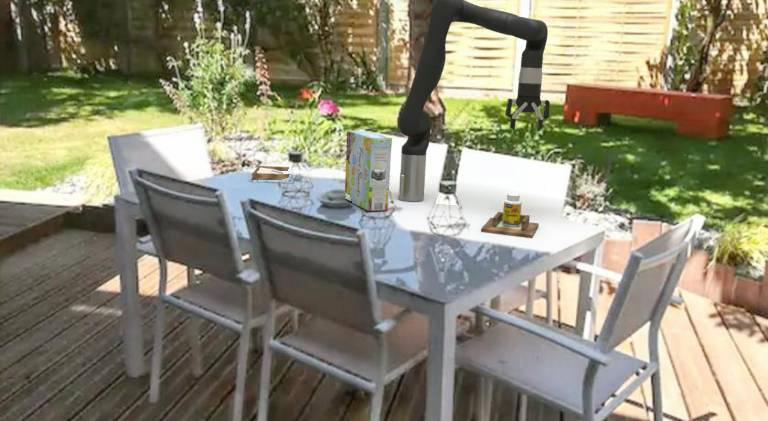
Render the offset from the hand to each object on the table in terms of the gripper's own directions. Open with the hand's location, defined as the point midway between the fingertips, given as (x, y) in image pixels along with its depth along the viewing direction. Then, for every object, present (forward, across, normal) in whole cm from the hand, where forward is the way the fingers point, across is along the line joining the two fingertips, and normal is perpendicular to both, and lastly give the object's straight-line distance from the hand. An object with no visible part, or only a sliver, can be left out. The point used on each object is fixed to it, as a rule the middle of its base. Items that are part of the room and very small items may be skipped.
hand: (525, 130), depth 240 cm
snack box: (+30, -53, +10) cm, 62 cm away
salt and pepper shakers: (+31, -93, +50) cm, 110 cm away
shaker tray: (+30, -91, +52) cm, 109 cm away
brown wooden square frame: (+30, -6, -17) cm, 35 cm away
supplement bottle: (+29, -6, -17) cm, 34 cm away
